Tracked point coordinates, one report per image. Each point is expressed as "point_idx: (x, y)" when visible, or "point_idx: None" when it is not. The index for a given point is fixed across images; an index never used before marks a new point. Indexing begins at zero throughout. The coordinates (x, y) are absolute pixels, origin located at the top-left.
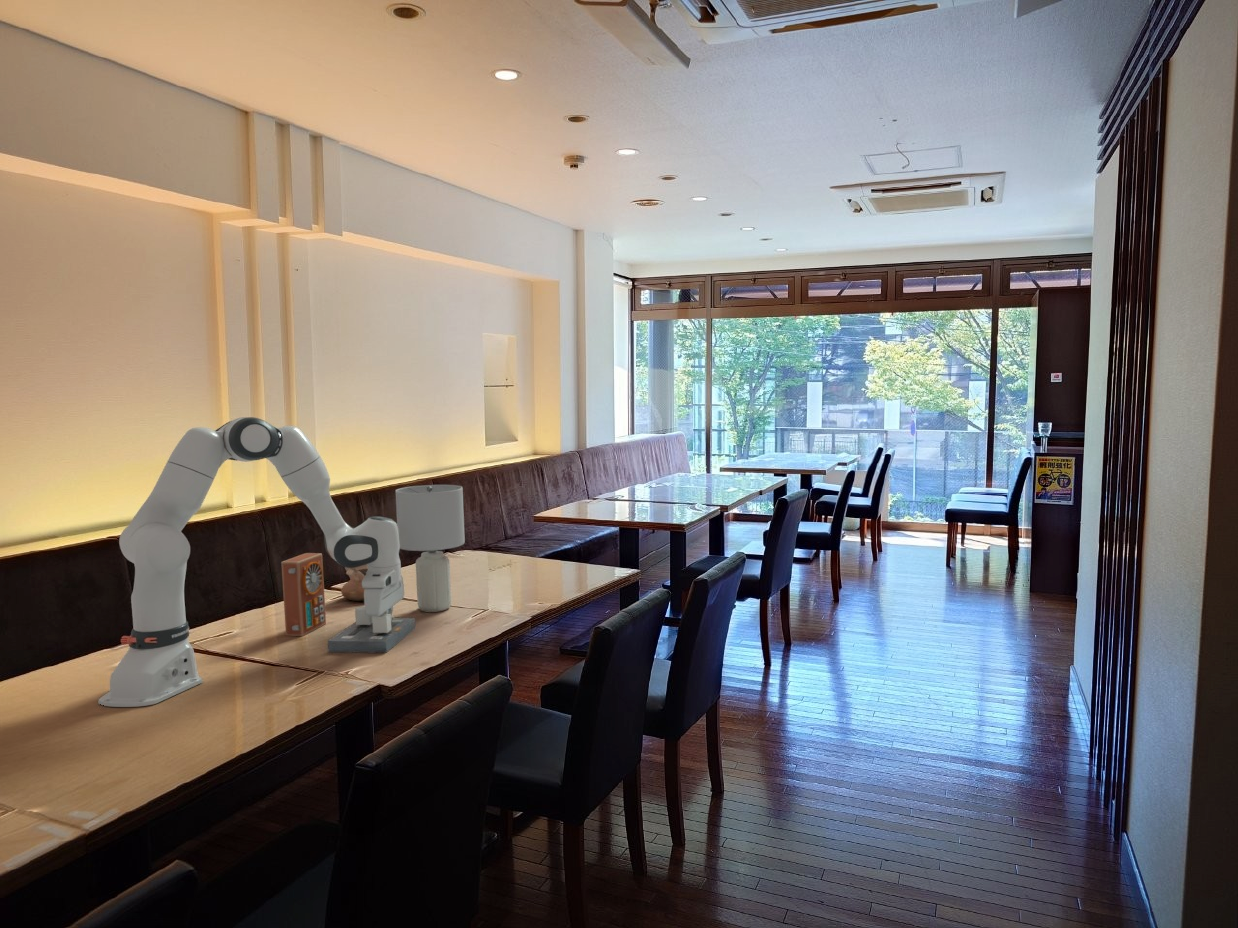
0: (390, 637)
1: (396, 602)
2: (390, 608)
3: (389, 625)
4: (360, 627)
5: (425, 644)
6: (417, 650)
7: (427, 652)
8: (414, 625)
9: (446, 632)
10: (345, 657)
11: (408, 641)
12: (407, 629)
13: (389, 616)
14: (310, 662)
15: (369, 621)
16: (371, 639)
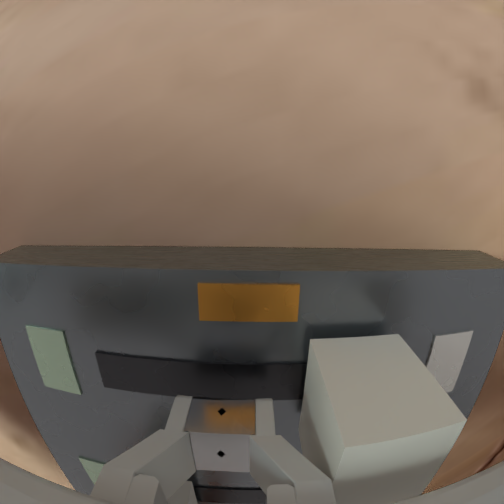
0: (461, 273)
1: (35, 486)
2: (158, 498)
3: (363, 363)
4: (224, 497)
5: (346, 51)
6: (450, 84)
7: (464, 35)
8: (15, 250)
9: (92, 19)
10: (481, 393)
11: (284, 183)
12: (113, 255)
13: (380, 424)
14: (479, 450)
15: (187, 495)
16: (465, 372)
